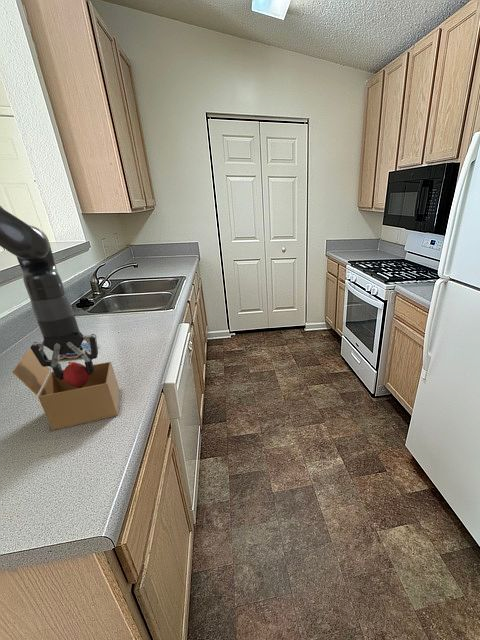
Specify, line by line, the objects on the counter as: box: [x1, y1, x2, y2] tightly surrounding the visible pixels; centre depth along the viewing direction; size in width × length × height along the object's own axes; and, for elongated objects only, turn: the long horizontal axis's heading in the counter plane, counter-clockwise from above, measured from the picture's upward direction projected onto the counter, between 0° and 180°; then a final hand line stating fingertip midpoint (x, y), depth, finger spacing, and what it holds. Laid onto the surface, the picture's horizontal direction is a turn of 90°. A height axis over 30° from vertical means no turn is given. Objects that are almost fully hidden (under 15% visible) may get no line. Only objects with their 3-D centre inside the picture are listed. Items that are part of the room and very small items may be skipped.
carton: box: [37, 361, 121, 431], centre depth 90 cm, size 15×14×10 cm
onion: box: [63, 360, 90, 388], centre depth 87 cm, size 6×6×8 cm
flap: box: [11, 348, 51, 396], centre depth 83 cm, size 7×14×1 cm
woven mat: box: [59, 342, 91, 360], centre depth 125 cm, size 10×11×2 cm
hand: (76, 375), depth 87 cm, fingers closed on onion, 6 cm apart
